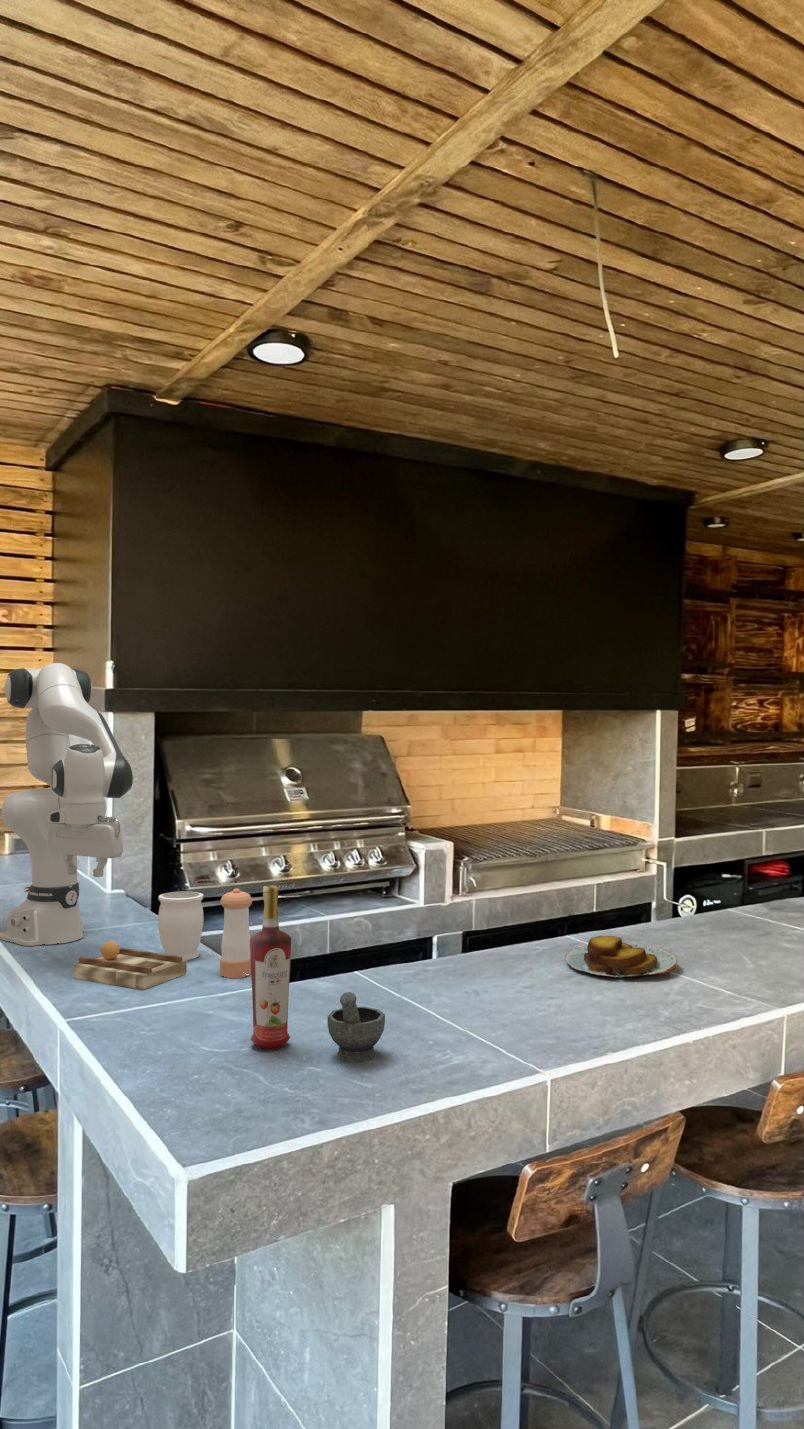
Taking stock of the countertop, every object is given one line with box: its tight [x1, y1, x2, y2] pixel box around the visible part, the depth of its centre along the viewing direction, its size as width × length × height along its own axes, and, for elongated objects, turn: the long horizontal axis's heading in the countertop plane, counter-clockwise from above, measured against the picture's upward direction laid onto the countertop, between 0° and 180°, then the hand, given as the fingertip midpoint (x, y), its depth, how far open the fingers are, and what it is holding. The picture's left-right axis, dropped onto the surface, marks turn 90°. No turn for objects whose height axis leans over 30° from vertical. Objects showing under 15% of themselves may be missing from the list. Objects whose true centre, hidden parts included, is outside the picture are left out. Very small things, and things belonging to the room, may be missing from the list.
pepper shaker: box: [219, 888, 253, 979], centre depth 213 cm, size 7×7×19 cm
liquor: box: [250, 885, 292, 1051], centre depth 167 cm, size 7×7×28 cm
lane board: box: [73, 947, 188, 991], centre depth 211 cm, size 20×14×4 cm
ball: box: [100, 940, 120, 960], centre depth 214 cm, size 4×4×4 cm
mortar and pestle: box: [327, 991, 386, 1063], centre depth 162 cm, size 11×9×12 cm
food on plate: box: [564, 935, 678, 984], centre depth 220 cm, size 25×25×7 cm
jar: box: [157, 891, 204, 961], centre depth 228 cm, size 11×10×15 cm
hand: (84, 875), depth 218 cm, fingers open, 7 cm apart
